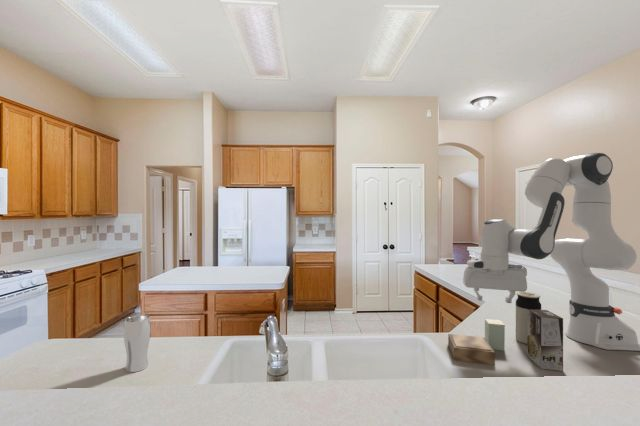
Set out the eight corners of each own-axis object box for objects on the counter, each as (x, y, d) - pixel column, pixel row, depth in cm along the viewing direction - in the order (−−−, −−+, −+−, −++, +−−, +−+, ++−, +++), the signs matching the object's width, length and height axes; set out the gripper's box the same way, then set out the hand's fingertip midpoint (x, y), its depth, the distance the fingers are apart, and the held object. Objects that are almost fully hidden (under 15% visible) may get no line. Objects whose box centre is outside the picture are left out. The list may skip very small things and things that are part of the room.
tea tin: (500, 344, 109) (500, 320, 109) (504, 350, 104) (505, 325, 104) (484, 343, 110) (484, 318, 110) (488, 348, 105) (488, 323, 105)
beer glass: (131, 362, 93) (132, 314, 93) (154, 361, 94) (155, 314, 94) (118, 373, 86) (119, 322, 86) (142, 373, 87) (143, 322, 87)
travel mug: (520, 344, 109) (520, 295, 110) (512, 336, 117) (512, 290, 117) (545, 347, 107) (545, 297, 107) (536, 338, 115) (536, 292, 115)
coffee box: (564, 371, 90) (564, 318, 90) (540, 369, 91) (540, 317, 92) (547, 357, 99) (547, 309, 99) (526, 355, 100) (526, 308, 101)
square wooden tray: (484, 348, 105) (484, 336, 105) (494, 365, 94) (494, 351, 94) (448, 344, 108) (448, 333, 108) (454, 359, 97) (454, 346, 97)
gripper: (523, 264, 108) (523, 301, 108) (462, 260, 113) (462, 296, 113) (530, 266, 102) (530, 306, 101) (466, 262, 107) (465, 301, 107)
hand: (493, 301), depth 107 cm, fingers open, 8 cm apart
